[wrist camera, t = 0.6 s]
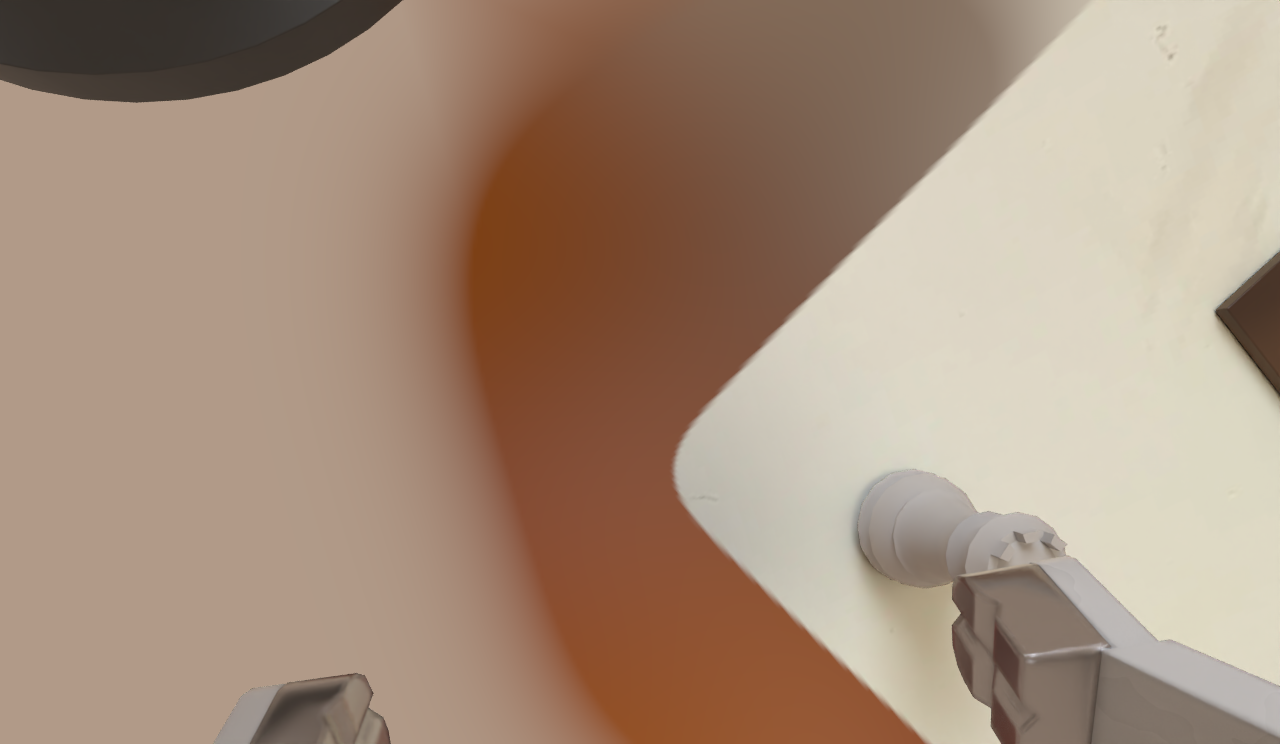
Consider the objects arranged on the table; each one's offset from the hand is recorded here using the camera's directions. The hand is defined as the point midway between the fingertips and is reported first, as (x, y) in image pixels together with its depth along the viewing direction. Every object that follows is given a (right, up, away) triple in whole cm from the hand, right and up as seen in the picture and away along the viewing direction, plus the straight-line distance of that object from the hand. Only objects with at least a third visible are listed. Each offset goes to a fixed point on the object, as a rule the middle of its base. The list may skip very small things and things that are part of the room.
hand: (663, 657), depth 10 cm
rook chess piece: (+10, -2, +19) cm, 22 cm away
